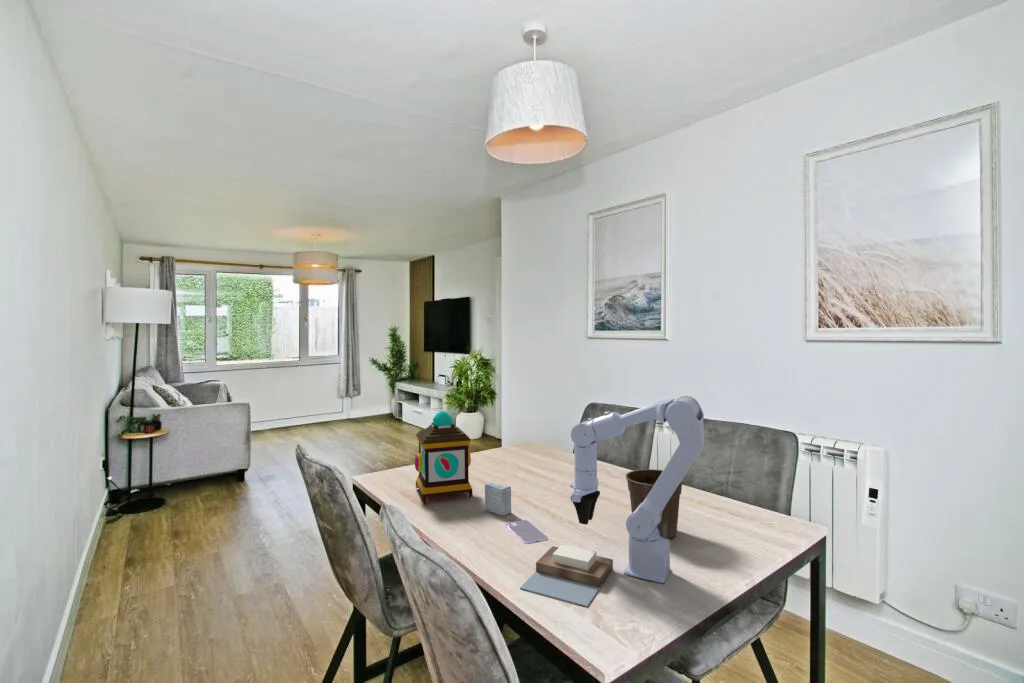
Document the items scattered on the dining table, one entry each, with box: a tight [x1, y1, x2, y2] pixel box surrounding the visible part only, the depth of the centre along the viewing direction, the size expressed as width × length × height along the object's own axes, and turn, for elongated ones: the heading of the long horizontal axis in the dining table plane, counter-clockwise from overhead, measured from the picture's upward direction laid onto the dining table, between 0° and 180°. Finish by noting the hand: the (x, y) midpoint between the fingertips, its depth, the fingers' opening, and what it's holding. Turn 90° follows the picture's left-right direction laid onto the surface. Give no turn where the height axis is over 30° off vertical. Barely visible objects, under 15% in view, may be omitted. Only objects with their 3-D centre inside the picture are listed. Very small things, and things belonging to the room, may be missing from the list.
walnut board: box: [535, 545, 614, 589], centre depth 121 cm, size 16×10×2 cm, turn 62°
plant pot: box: [624, 468, 685, 540], centre depth 143 cm, size 16×16×16 cm
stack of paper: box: [484, 481, 512, 517], centre depth 160 cm, size 8×4×9 cm, turn 47°
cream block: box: [553, 544, 597, 570], centre depth 121 cm, size 9×6×2 cm, turn 62°
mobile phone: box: [504, 519, 548, 545], centre depth 144 cm, size 8×1×15 cm
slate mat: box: [519, 571, 601, 608], centre depth 112 cm, size 16×8×1 cm, turn 62°
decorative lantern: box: [414, 410, 473, 504], centre depth 177 cm, size 20×20×30 cm
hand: (585, 521), depth 127 cm, fingers open, 3 cm apart
